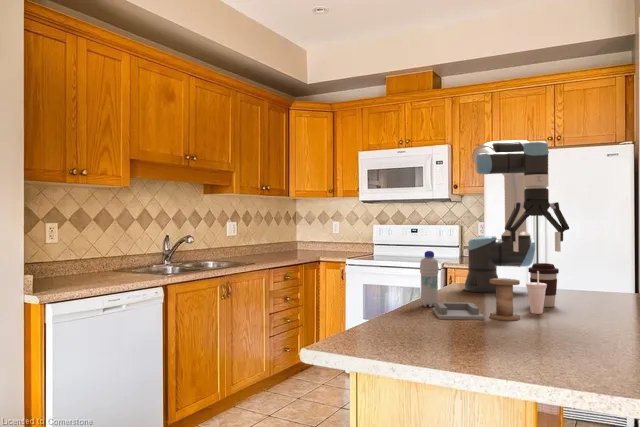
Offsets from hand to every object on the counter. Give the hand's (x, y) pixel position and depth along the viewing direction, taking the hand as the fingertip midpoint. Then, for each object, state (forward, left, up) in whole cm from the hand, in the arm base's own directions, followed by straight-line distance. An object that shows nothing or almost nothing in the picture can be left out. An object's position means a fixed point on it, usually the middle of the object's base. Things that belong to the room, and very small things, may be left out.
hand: (536, 251), depth 164 cm
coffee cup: (-13, +7, -21) cm, 25 cm away
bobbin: (+9, -13, -20) cm, 26 cm away
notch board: (+5, -27, -20) cm, 34 cm away
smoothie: (0, 0, -21) cm, 21 cm away
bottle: (-10, -34, -21) cm, 41 cm away
